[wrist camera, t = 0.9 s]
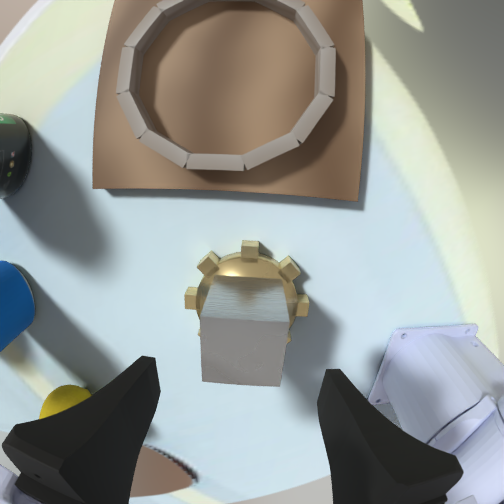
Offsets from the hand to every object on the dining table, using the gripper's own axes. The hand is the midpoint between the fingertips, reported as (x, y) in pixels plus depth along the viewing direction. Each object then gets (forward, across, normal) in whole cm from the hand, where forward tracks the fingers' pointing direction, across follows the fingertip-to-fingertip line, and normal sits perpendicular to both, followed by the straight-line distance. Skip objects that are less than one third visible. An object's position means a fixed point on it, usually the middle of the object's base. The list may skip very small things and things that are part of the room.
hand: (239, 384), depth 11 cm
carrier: (+8, +2, -14) cm, 16 cm away
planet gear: (+8, 0, 0) cm, 8 cm away
